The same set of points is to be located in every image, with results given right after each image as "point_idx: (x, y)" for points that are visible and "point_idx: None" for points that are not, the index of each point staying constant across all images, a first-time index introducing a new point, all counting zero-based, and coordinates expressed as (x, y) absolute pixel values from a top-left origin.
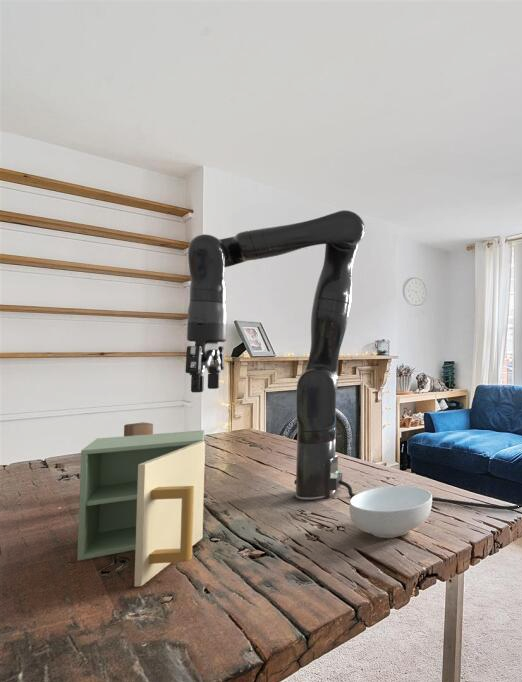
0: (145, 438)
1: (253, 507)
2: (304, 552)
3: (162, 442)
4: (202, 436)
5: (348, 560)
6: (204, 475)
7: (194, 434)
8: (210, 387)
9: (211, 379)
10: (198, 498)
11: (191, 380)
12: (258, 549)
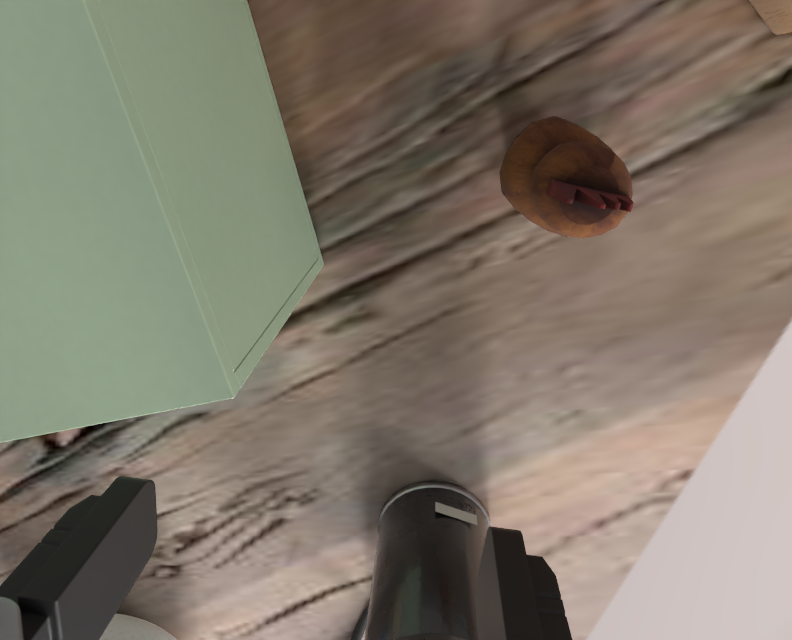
0: (14, 182)
1: (376, 384)
2: (52, 511)
3: None
4: (48, 431)
5: (8, 575)
6: (561, 234)
7: (106, 385)
8: (489, 548)
9: (491, 627)
10: None
11: (53, 554)
12: (79, 432)
